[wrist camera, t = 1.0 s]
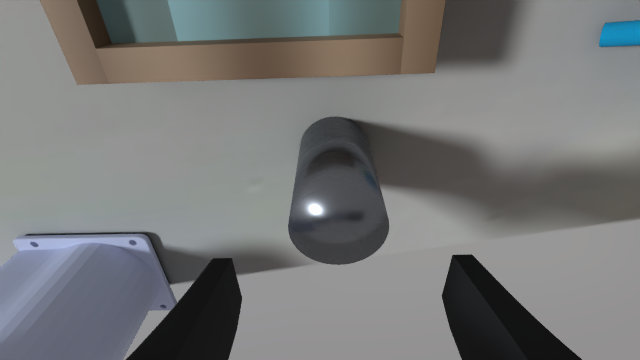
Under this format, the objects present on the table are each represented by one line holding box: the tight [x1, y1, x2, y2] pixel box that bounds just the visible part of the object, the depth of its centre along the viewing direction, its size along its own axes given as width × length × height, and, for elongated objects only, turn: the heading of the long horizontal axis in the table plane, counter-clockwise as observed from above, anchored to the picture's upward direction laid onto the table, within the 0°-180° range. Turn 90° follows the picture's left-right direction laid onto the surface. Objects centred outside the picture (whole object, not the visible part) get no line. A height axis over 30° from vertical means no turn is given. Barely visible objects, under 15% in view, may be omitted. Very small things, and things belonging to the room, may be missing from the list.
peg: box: [288, 117, 389, 265], centre depth 16 cm, size 4×4×7 cm
